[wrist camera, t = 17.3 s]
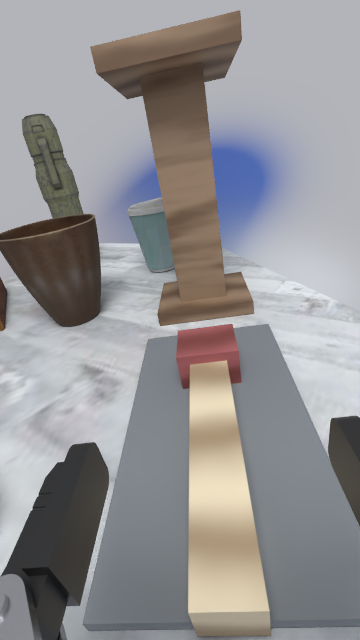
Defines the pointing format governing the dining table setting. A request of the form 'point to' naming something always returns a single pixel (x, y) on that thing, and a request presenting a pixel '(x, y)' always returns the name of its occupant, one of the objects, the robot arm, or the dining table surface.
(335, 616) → the mat
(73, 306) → the plant pot
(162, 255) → the disposable coffee cup
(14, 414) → the dining table surface
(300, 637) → the dining table surface
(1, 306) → the diary
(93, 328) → the dining table surface
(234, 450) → the bar
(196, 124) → the brown tall pedestal shape
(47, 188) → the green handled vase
